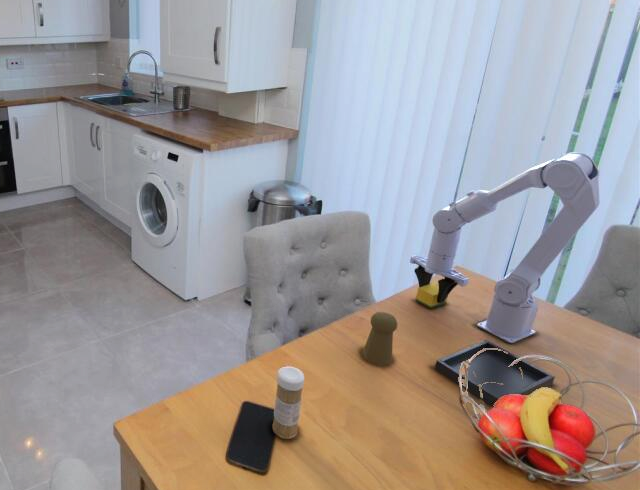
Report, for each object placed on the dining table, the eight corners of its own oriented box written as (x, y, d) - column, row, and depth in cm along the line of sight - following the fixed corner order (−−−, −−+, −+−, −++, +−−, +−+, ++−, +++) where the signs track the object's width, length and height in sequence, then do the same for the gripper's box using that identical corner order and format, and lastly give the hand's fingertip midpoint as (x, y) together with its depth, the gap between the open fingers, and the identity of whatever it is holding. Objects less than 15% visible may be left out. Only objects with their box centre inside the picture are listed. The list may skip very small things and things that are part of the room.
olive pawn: (385, 348, 111) (393, 308, 107) (396, 366, 106) (405, 324, 102) (358, 347, 112) (365, 307, 108) (367, 365, 106) (375, 323, 102)
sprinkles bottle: (285, 418, 93) (291, 362, 88) (302, 434, 89) (310, 377, 84) (266, 426, 91) (272, 370, 86) (283, 444, 88) (290, 385, 82)
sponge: (430, 295, 131) (433, 282, 130) (446, 303, 128) (449, 290, 126) (415, 300, 129) (418, 287, 128) (430, 308, 125) (433, 295, 124)
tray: (484, 347, 111) (486, 339, 110) (551, 385, 99) (555, 376, 98) (434, 368, 105) (436, 360, 104) (500, 411, 93) (503, 402, 92)
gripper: (406, 243, 128) (397, 288, 133) (459, 266, 115) (447, 314, 120) (424, 238, 130) (415, 282, 135) (479, 260, 118) (466, 307, 123)
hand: (431, 297), depth 128 cm, fingers closed on sponge, 4 cm apart
